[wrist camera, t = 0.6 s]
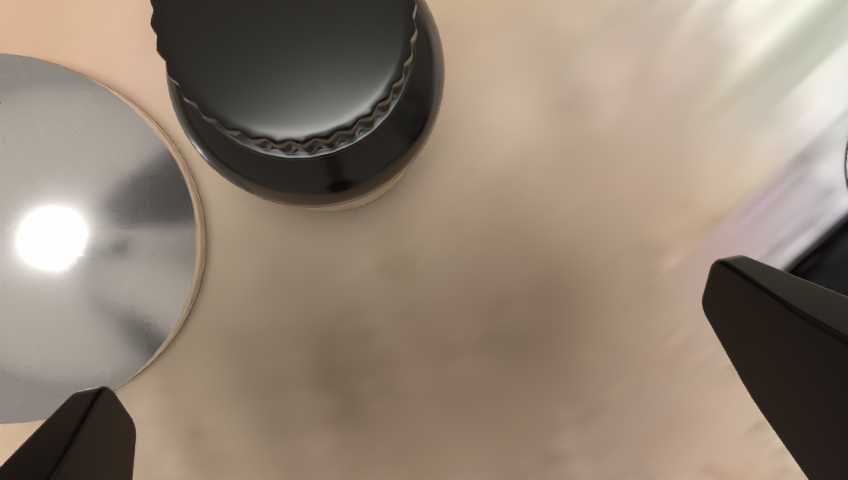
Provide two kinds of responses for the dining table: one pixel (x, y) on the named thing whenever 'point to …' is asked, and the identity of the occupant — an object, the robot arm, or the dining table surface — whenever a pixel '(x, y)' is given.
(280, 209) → the dining table surface
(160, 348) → the metal plate
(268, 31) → the supplement bottle
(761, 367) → the robot arm
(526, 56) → the dining table surface
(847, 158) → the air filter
